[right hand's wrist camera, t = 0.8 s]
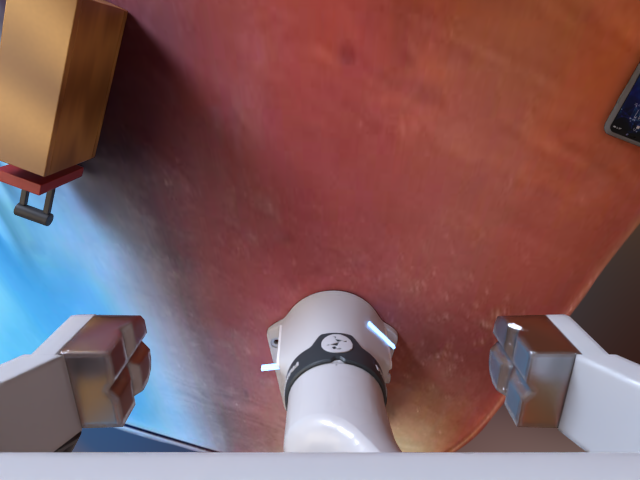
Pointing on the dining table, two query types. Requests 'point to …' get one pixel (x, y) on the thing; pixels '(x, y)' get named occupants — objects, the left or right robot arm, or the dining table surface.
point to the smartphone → (627, 112)
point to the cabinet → (56, 80)
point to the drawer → (37, 189)
